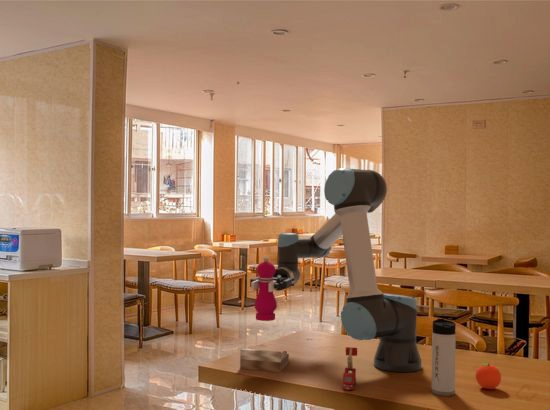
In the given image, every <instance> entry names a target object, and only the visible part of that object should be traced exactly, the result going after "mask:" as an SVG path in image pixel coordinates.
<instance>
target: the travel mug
mask: <svg viewBox="0 0 550 410" xmlns="http://www.w3.org/2000/svg"><path fill="white" fill-rule="evenodd" d="M456 327H457V326H456V323H455V322H454V321H452V320H449V319H444V318H437V319H435V320H433V321H432V333H431V339H432V340H431V348H432V349H431V392H432V394H435V395H437V396H441V397H442V396H443V397H451V395H452V396H454V395H455V394H456V347H457V346H456V344H457V343H456V341H457V340H456V339H457V338H456V335H457V334H456V333H457V332H456Z"/></svg>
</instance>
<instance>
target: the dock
mask: <svg viewBox="0 0 550 410" xmlns="http://www.w3.org/2000/svg"><path fill="white" fill-rule="evenodd" d="M239 355H240V357H239V358H240V359H239V364H240V365H239V369H243V370H250V371H251V370H252V371H253V370H254V371H265V372H275V373H280V372H282V371H283V370H284V369H285V368H286V367H287V365H288V364H289V361H290V359H289V358H290V357H289V356H290V354H289V353H288V351H287V350H283V351H279V350H278V351H275V350H274V351H273V350H263V349H262V350H261V349H252V348H251V347H248V348H240V354H239Z"/></svg>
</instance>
